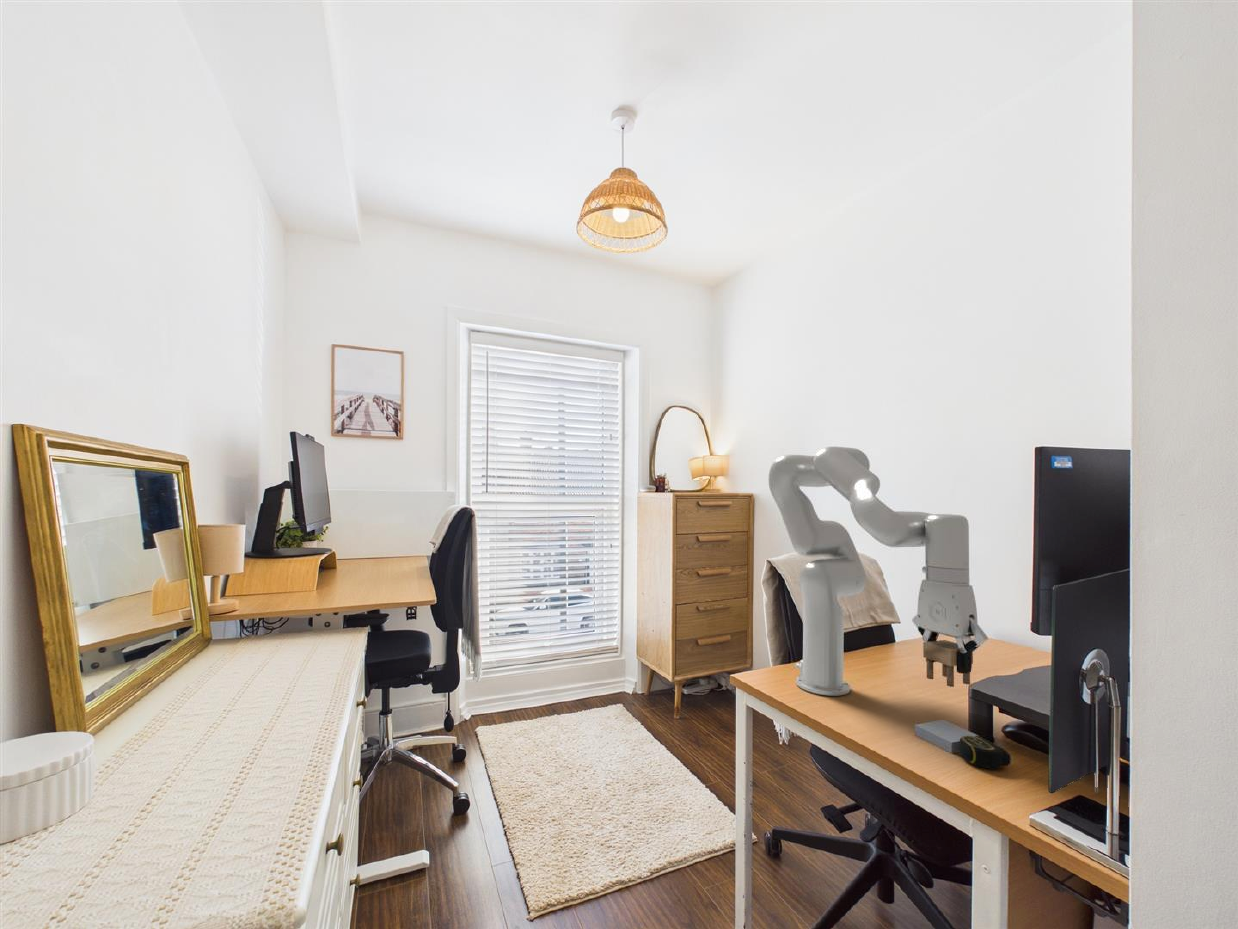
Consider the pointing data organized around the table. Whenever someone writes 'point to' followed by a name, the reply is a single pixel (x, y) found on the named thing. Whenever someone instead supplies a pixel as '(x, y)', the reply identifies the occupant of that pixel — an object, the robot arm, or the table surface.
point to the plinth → (942, 734)
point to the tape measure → (983, 752)
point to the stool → (943, 659)
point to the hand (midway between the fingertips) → (948, 666)
